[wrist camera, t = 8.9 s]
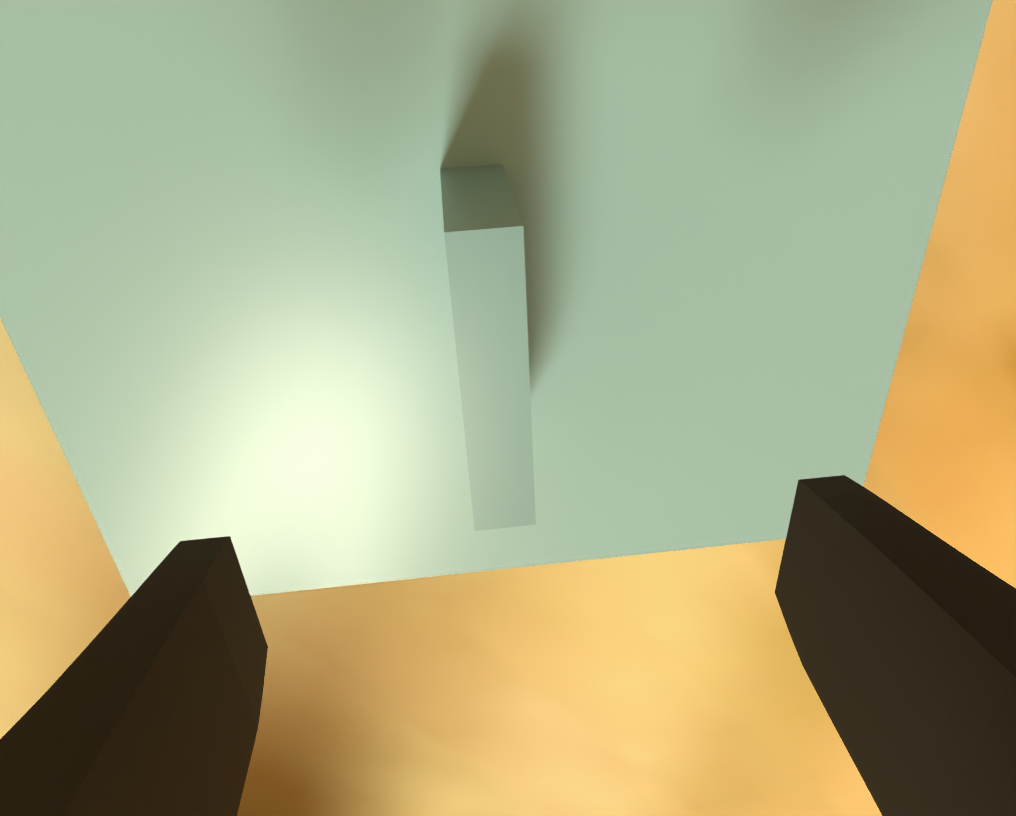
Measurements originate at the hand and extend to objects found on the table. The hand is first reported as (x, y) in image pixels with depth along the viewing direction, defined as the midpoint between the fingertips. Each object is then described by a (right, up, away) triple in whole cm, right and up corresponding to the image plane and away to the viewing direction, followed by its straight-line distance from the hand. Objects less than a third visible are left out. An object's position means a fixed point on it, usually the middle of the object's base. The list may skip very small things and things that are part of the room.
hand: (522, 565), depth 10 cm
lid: (-1, +5, +8) cm, 9 cm away
